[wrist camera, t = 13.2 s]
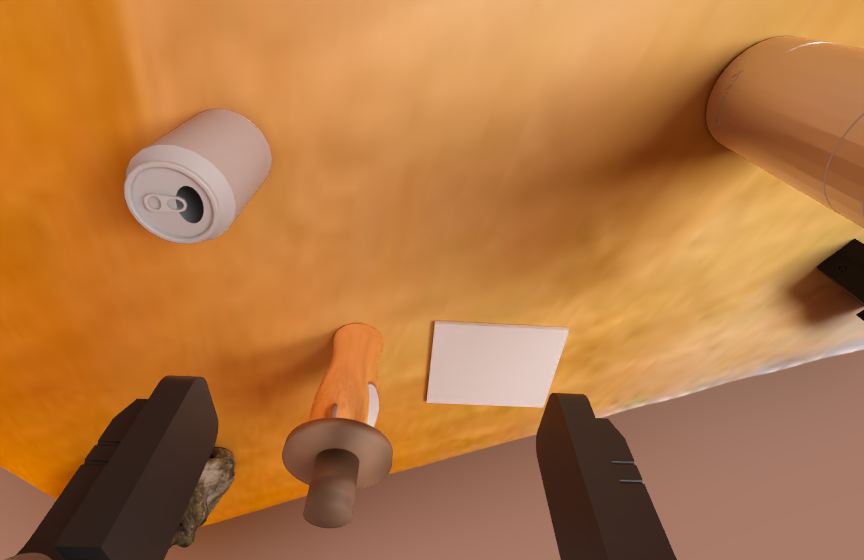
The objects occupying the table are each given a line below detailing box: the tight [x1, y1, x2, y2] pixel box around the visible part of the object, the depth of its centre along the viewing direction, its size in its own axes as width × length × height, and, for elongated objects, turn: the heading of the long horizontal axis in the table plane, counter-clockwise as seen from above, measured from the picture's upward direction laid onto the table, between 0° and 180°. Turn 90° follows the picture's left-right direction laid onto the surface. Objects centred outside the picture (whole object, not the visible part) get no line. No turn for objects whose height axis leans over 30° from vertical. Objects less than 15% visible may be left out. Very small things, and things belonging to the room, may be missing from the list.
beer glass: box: [309, 324, 383, 430], centre depth 48 cm, size 7×7×15 cm
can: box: [124, 109, 272, 244], centre depth 35 cm, size 8×8×12 cm
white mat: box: [427, 321, 569, 407], centre depth 56 cm, size 16×14×1 cm
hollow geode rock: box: [169, 447, 235, 548], centre depth 65 cm, size 28×13×15 cm
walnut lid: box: [282, 418, 393, 528], centre depth 39 cm, size 10×10×6 cm
